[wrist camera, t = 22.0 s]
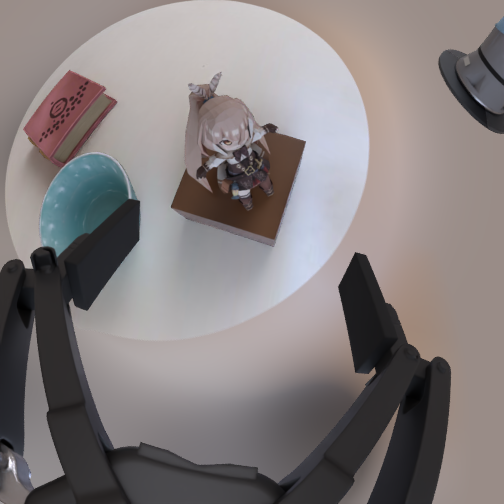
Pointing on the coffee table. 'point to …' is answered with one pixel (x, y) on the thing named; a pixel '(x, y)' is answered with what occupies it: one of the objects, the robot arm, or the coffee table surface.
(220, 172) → the toy
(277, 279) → the coffee table surface
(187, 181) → the walnut block
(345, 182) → the coffee table surface
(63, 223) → the bowl
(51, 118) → the book
